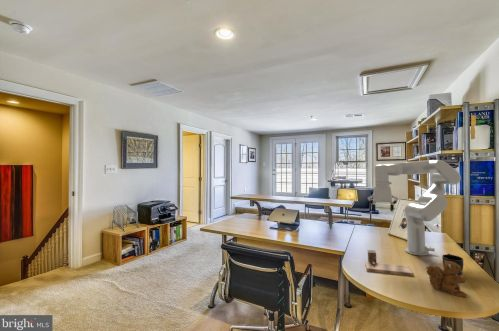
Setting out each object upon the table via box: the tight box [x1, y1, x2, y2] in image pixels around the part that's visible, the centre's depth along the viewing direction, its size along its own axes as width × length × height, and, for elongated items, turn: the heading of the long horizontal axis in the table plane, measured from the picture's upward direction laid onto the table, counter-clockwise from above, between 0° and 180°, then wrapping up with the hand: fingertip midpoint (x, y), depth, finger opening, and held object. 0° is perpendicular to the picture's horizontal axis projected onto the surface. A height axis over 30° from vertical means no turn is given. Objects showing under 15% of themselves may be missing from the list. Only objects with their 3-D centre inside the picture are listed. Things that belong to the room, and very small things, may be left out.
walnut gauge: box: [367, 249, 378, 265], centre depth 139 cm, size 4×10×7 cm, turn 160°
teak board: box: [364, 261, 415, 277], centre depth 133 cm, size 22×9×2 cm, turn 70°
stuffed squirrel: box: [426, 260, 468, 298], centre depth 111 cm, size 10×14×13 cm
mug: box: [441, 253, 464, 277], centre depth 125 cm, size 8×12×10 cm
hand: (382, 210), depth 153 cm, fingers open, 9 cm apart
